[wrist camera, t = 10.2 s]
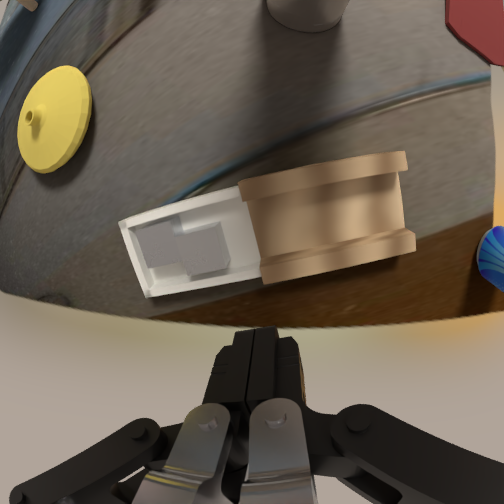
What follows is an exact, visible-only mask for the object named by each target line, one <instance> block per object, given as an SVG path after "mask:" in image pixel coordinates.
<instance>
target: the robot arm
mask: <svg viewBox="0 0 504 504" xmlns="http://www.w3.org/2000/svg"><path fill="white" fill-rule="evenodd" d="M348 2H349V0H267V7H268V10H269V12H270V14H271V15H272V17H273V18H274V19H275V20H276V21H278V22H279V23H281V24H282V25H284V26H286V27H288V28H291V29H294V30H297V31H302V32H321V31H325V30H328V29H330V28H332V27H334V26H335V25H336V24H337V23H338V22H339V20H340V19H341V17H342V15H343V13H344V10H345V8H346V6H347V5H348ZM213 366H214V367H213V368H212V372H211V376H210V379H209V382H208V385H207V389H206V392H205V395H204V399H203V402H202V405H200V406H198V407H196V408H194V409H193V410H192V411H190V412H189V414H188V415H187V416H186V418H185V420H184V422H183V423H180V424H175V425H171V426H167V427H161V428H160V426H159V425H158V424H157V423H156V422H155V421H154V420H152V419H149V418H140V419H136V420H134V421H132V422H130V423H128V424H127V425H125V426H124V427H122V428H121V429H119V430H118V431H116V432H114V433H113V434H111V435H110V436H108V437H106V438H105V439H103V440H101V441H100V442H98V443H96V444H95V445H93V446H91V447H90V448H88V449H86V450H85V451H83V452H81V453H79V454H78V455H76V456H74V457H72V458H70V459H69V460H67V461H65V462H63V463H61V464H60V465H58V466H56V467H54V468H52V469H50V470H48V471H46V472H44V473H42V474H40V475H38V476H36V477H34V478H32V479H30V480H28V481H26V482H24V483H21V484H19V485H18V486H16V487H14V488H13V490H12V491H11V493H10V497H9V502H10V504H318V500H317V494H316V488H315V487H316V486H315V480H314V475H321V476H329V477H336V478H337V479H338V480H339V481H340V482H342V483H343V484H345V485H346V486H347V487H349V488H350V489H352V490H353V491H355V492H356V493H358V494H359V495H361V496H362V497H364V498H365V499H367V500H368V501H370V502H371V503H373V504H504V463H501V462H498V461H495V460H492V459H490V458H487V457H484V456H481V455H479V454H476V453H474V452H471V451H468V450H466V449H463V448H461V447H458V446H456V445H454V444H451V443H449V442H447V441H444V440H442V439H440V438H437V437H435V436H433V435H431V434H429V433H427V432H424V431H422V430H420V429H418V428H416V427H414V426H412V425H410V424H407V423H406V422H404V421H402V420H400V419H398V418H396V417H394V416H392V415H390V414H388V413H386V412H384V411H382V410H380V409H378V408H376V407H374V406H372V405H367V404H357V405H352V406H349V407H347V408H345V409H343V410H341V411H340V412H339V413H338V414H337V415H333V414H332V415H331V414H322V413H318V412H315V411H313V410H311V409H310V408H308V407H307V406H306V398H305V397H306V395H305V386H304V385H305V384H304V374H303V368H302V363H301V357H300V353H299V348H298V344H297V342H296V341H295V340H294V339H293V338H292V337H291V336H290V337H284V338H279V335H278V330H277V327H276V325H275V326H269V327H263V328H256V329H250V330H244V331H237V332H235V336H234V340H233V344H232V345H229V346H224V347H223V348H222V349H221V350H220V352H219V353H218V354H217V355H216V358H215V362H214V365H213ZM142 466H144V467H145V469H143V470H142V471H140V472H139V473H137V474H135V475H134V476H132V477H131V478H129V479H128V480H126V481H124V482H119V481H120V480H122V479H124V478H125V477H127V476H128V475H130V474H132V473H133V472H135V471H136V470H138V469H139V468H141V467H142Z"/></svg>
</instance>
